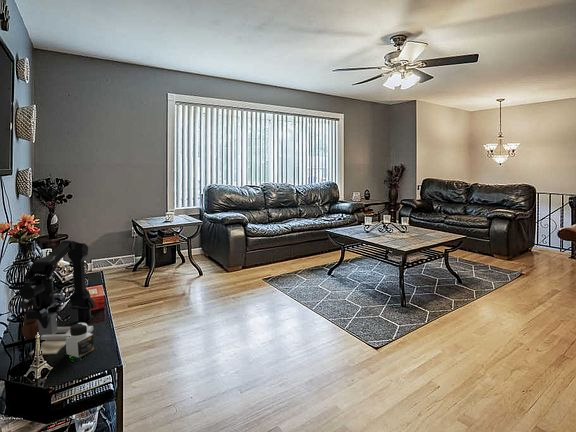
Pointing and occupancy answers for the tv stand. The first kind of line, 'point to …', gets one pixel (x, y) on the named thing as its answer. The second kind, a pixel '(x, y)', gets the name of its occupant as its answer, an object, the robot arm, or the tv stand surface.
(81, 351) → the medicine bottle
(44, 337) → the power strip
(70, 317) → the tv stand surface
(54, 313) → the charger
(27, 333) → the wooden figurine
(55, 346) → the pad
